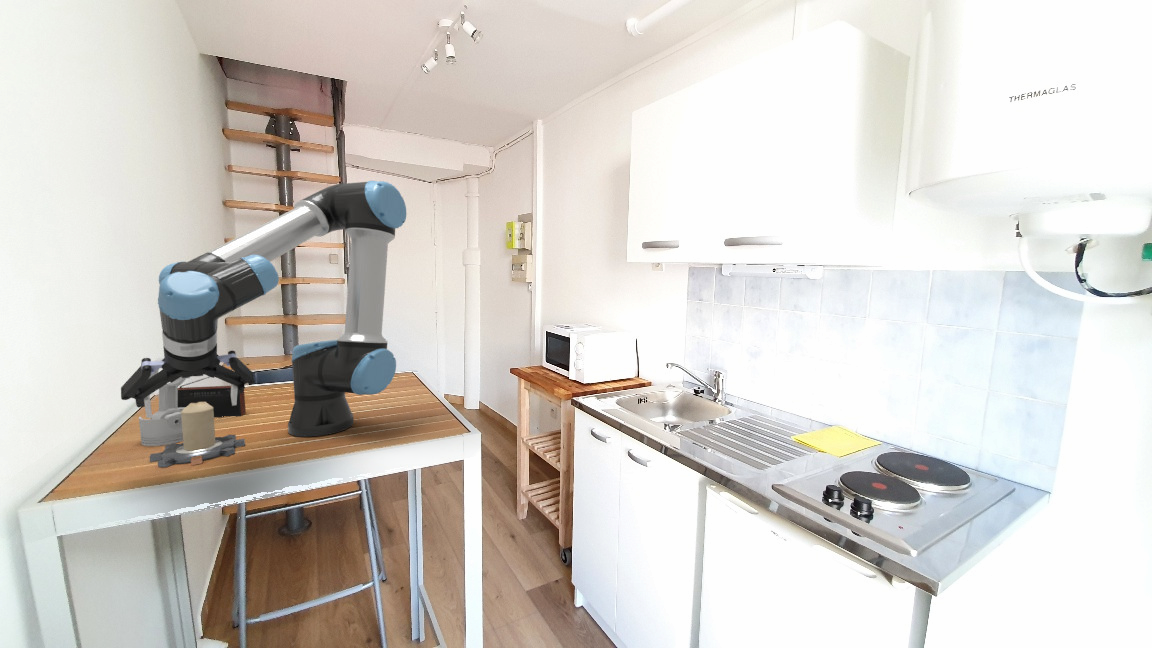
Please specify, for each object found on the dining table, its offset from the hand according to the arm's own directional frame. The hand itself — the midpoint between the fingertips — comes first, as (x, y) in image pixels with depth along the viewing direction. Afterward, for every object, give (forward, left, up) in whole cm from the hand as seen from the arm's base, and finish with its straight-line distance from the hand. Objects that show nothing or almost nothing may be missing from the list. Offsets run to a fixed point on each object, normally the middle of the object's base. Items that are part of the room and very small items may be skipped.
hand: (193, 406), depth 94 cm
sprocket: (+5, -5, -12) cm, 14 cm away
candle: (+5, -5, -11) cm, 13 cm away
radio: (+27, -28, -13) cm, 41 cm away
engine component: (+21, -12, -13) cm, 27 cm away
